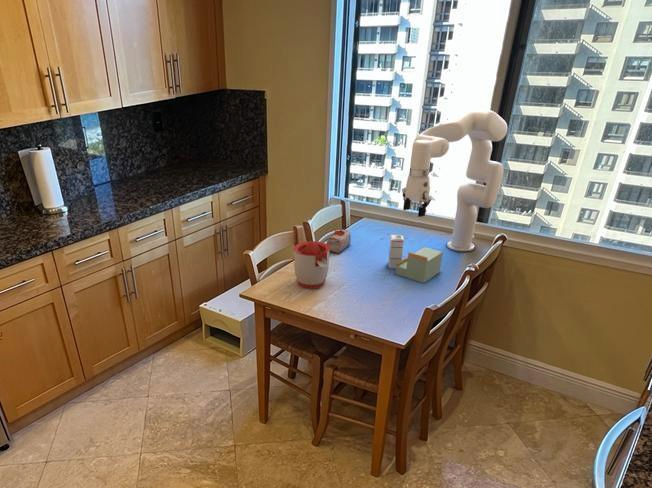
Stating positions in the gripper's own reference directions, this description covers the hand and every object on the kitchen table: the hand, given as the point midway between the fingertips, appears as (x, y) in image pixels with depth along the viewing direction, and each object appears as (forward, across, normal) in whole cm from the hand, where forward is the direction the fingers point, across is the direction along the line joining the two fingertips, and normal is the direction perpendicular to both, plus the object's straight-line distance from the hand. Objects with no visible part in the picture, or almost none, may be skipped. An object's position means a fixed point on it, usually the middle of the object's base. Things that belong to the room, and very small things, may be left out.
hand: (413, 212), depth 218 cm
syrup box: (+29, +9, 0) cm, 30 cm away
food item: (+29, +39, +11) cm, 50 cm away
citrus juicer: (+29, +11, +42) cm, 52 cm away
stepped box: (+28, -2, -4) cm, 29 cm away
